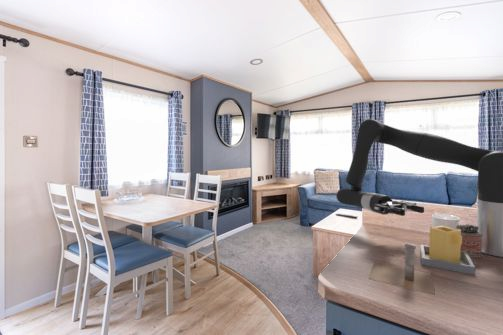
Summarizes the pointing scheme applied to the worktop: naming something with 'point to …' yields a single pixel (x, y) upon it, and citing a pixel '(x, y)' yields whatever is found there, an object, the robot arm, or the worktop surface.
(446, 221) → the white cup
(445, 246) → the yellow open box
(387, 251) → the worktop surface
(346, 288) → the worktop surface
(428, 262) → the tray
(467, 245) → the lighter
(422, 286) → the board
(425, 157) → the robot arm
